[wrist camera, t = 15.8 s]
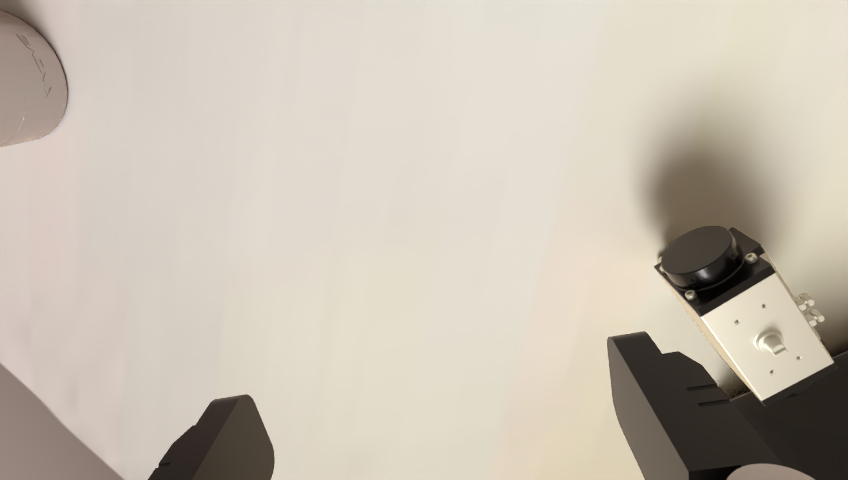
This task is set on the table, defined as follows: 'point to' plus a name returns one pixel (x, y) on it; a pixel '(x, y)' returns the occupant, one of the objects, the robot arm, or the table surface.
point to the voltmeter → (806, 425)
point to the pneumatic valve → (747, 311)
